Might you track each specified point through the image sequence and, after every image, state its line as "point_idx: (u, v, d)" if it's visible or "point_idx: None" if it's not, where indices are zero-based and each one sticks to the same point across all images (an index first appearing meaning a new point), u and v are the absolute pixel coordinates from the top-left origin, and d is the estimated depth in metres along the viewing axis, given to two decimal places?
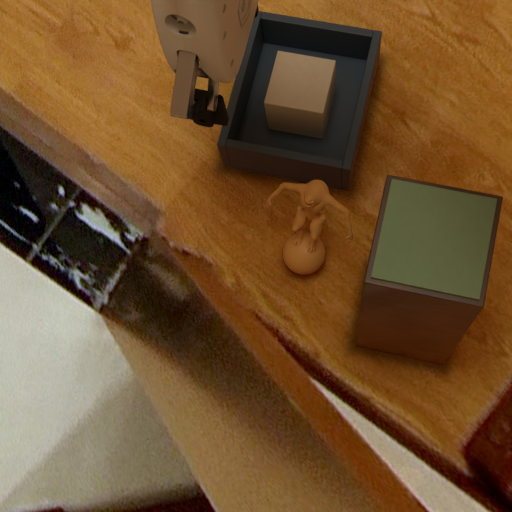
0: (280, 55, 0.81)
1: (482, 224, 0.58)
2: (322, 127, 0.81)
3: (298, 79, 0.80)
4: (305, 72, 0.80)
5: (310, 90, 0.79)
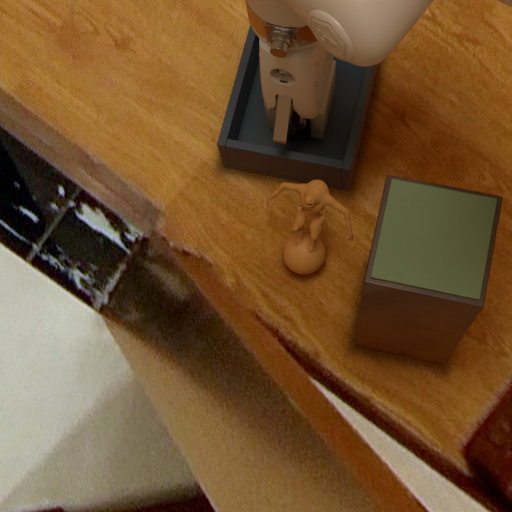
0: None
1: (482, 224, 0.58)
2: (322, 127, 0.81)
3: None
4: None
5: None
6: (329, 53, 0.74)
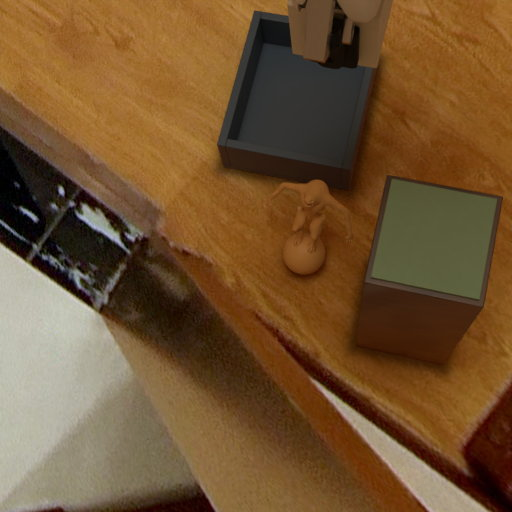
0: None
1: (482, 224, 0.58)
2: (376, 47, 0.53)
3: None
4: None
5: None
6: None
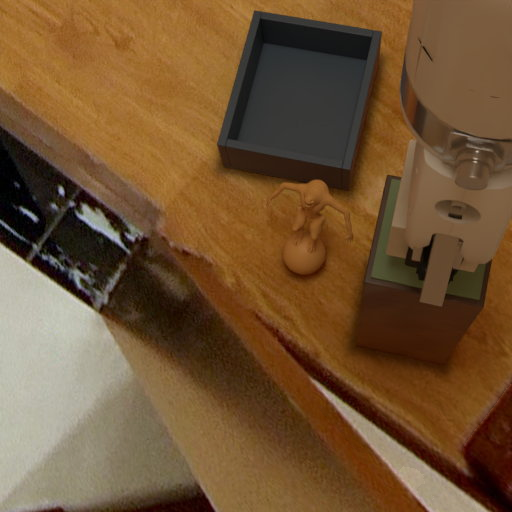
0: (414, 147, 0.51)
1: None
2: None
3: None
4: None
5: None
6: None
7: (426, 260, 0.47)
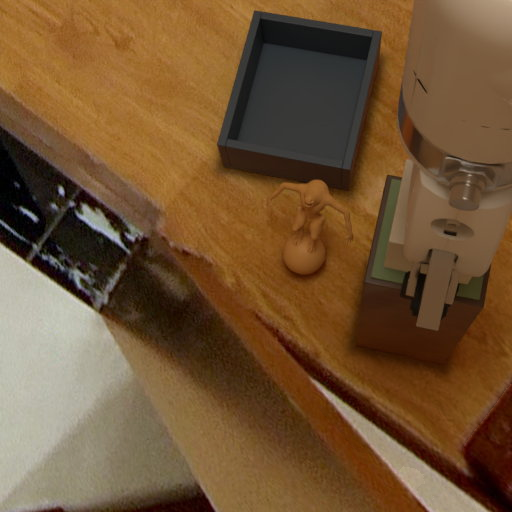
0: (410, 166, 0.53)
1: None
2: None
3: None
4: None
5: None
6: None
7: (420, 296, 0.48)
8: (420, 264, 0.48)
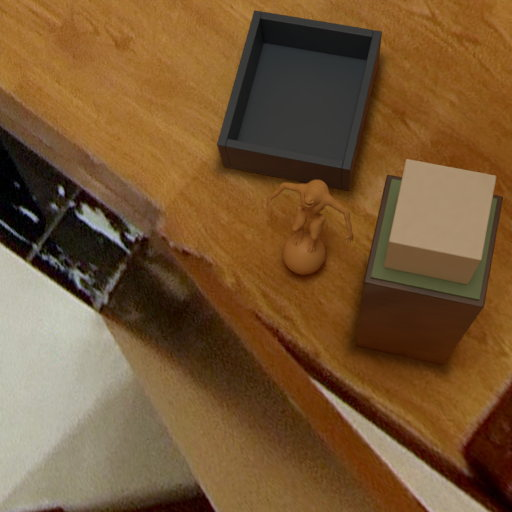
0: (410, 166, 0.53)
1: None
2: (472, 273, 0.54)
3: (439, 205, 0.52)
4: (450, 193, 0.53)
5: (460, 222, 0.52)
6: None
7: None
8: None
